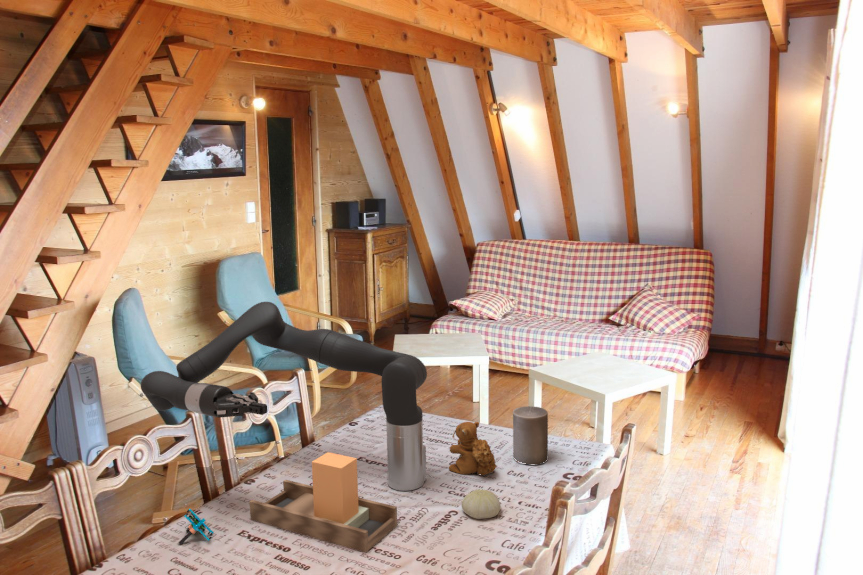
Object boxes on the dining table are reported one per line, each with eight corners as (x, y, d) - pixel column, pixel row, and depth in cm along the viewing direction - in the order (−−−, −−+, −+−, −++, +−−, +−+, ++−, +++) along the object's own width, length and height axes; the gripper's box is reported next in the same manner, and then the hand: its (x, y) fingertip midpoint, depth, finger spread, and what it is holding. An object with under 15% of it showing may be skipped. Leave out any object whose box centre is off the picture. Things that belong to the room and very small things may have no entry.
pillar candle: (553, 456, 196) (553, 404, 194) (539, 468, 188) (539, 415, 186) (521, 449, 202) (521, 399, 199) (506, 461, 194) (506, 409, 191)
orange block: (314, 516, 158) (311, 461, 156) (330, 504, 163) (327, 452, 161) (343, 523, 154) (341, 468, 152) (358, 512, 159) (356, 458, 157)
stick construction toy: (219, 534, 152) (194, 509, 151) (193, 560, 149) (168, 534, 148) (212, 525, 163) (189, 501, 162) (188, 548, 160) (164, 525, 159)
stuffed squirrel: (468, 458, 196) (468, 413, 194) (507, 473, 186) (507, 426, 184) (443, 468, 189) (442, 422, 187) (481, 484, 179) (481, 436, 177)
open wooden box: (250, 519, 163) (249, 501, 162) (286, 496, 174) (285, 479, 173) (365, 552, 148) (365, 532, 147) (397, 525, 159) (396, 506, 159)
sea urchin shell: (505, 496, 169) (500, 484, 162) (500, 529, 164) (494, 518, 158) (469, 491, 172) (462, 479, 165) (462, 523, 167) (455, 512, 161)
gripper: (187, 392, 164) (245, 402, 157) (227, 377, 176) (282, 386, 168) (189, 423, 165) (247, 434, 158) (229, 406, 177) (284, 416, 169)
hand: (265, 409), depth 163 cm, fingers closed
